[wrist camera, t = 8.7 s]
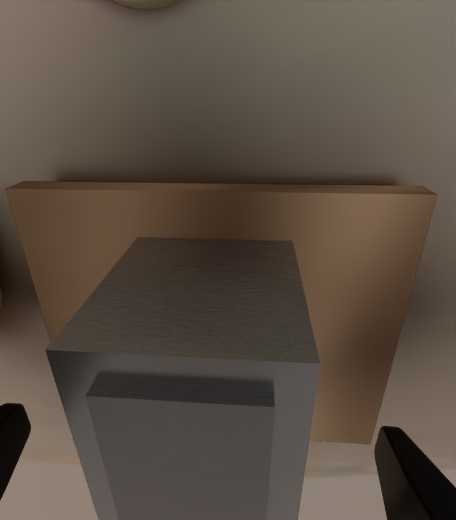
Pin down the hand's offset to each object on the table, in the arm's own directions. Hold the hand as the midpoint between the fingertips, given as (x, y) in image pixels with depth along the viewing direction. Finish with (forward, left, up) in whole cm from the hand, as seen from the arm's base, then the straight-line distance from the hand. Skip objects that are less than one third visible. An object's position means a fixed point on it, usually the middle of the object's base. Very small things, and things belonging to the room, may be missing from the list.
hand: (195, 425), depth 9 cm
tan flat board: (0, 0, -6) cm, 6 cm away
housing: (0, 0, -4) cm, 4 cm away
